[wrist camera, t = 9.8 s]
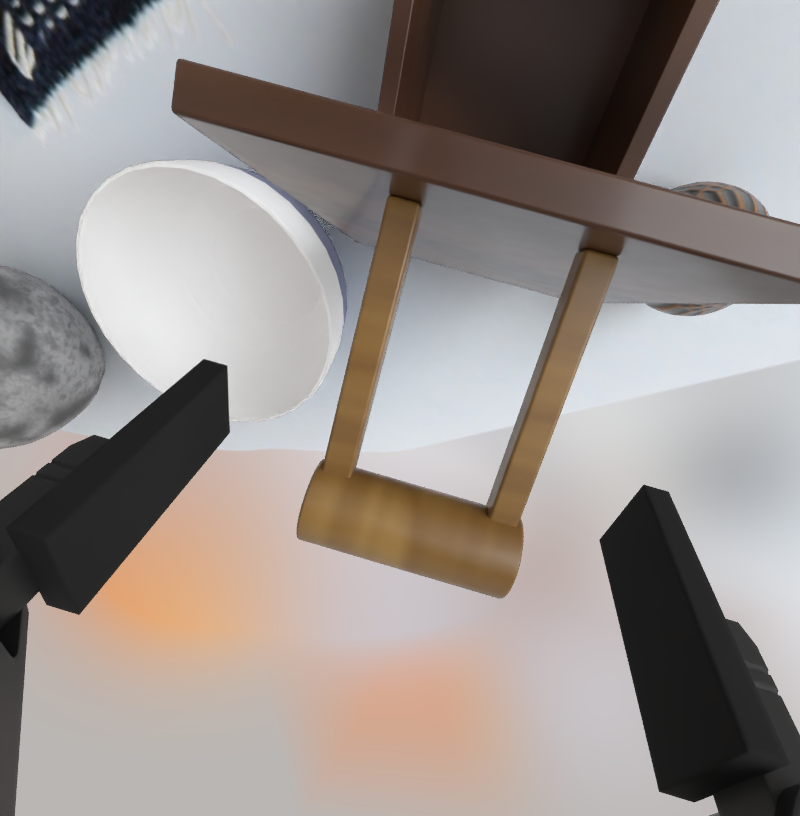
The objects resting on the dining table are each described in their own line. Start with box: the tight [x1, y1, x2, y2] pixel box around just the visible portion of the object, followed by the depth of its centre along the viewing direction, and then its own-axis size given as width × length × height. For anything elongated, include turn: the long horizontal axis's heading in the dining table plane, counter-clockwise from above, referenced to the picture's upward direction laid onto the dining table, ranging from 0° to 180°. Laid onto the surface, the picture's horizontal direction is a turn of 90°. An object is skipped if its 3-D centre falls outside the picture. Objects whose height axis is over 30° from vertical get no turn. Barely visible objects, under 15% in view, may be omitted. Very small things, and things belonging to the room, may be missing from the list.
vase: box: [645, 182, 769, 316], centre depth 24 cm, size 7×7×9 cm
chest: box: [378, 0, 719, 180], centre depth 21 cm, size 15×12×9 cm
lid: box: [172, 59, 800, 598], centre depth 15 cm, size 15×12×9 cm
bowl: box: [76, 160, 347, 422], centre depth 30 cm, size 16×16×10 cm
